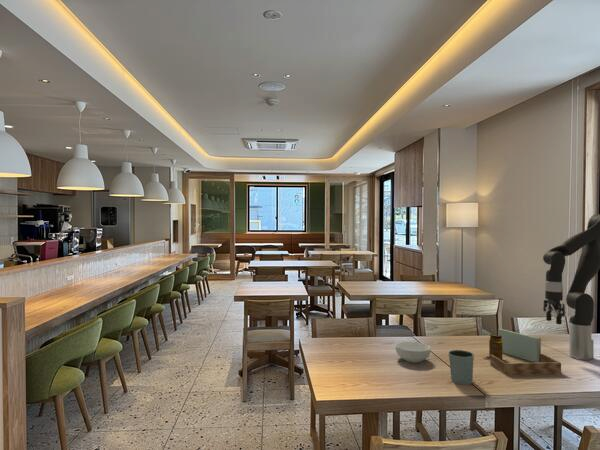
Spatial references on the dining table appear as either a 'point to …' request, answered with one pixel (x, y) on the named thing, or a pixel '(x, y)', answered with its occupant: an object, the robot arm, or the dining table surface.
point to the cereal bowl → (413, 351)
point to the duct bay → (527, 366)
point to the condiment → (495, 346)
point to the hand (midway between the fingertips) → (553, 322)
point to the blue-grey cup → (461, 366)
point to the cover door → (521, 345)
